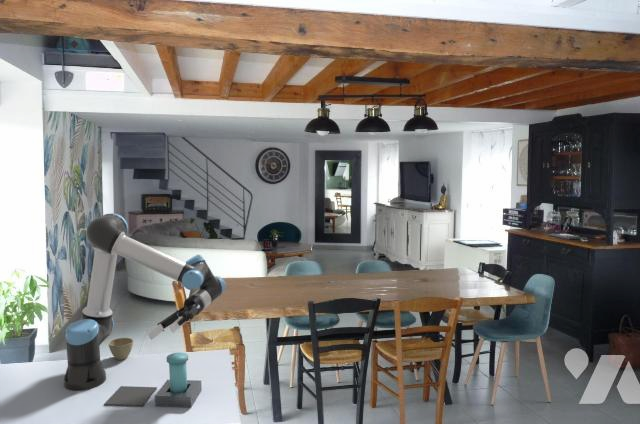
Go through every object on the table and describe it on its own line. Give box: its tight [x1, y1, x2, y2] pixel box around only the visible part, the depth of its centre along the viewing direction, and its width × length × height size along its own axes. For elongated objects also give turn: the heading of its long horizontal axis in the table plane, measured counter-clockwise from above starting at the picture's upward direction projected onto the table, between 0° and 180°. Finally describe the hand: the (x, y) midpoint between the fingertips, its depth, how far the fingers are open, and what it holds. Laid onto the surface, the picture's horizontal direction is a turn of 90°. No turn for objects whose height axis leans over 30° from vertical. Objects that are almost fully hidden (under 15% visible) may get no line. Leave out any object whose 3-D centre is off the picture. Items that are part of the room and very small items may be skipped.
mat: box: [103, 385, 158, 408], centre depth 202 cm, size 14×14×1 cm
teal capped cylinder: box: [166, 352, 189, 393], centre depth 200 cm, size 8×8×16 cm
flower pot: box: [108, 337, 134, 361], centre depth 237 cm, size 10×10×7 cm
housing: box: [154, 379, 203, 409], centre depth 200 cm, size 13×13×4 cm
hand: (160, 333), depth 201 cm, fingers open, 13 cm apart
